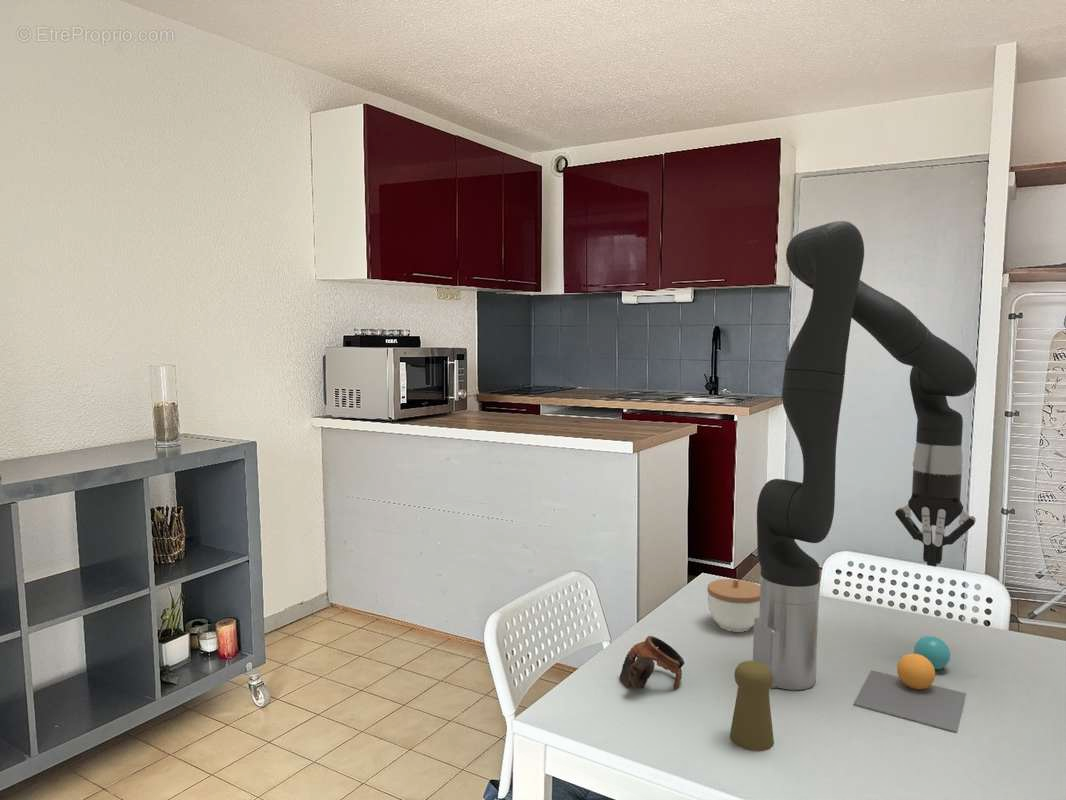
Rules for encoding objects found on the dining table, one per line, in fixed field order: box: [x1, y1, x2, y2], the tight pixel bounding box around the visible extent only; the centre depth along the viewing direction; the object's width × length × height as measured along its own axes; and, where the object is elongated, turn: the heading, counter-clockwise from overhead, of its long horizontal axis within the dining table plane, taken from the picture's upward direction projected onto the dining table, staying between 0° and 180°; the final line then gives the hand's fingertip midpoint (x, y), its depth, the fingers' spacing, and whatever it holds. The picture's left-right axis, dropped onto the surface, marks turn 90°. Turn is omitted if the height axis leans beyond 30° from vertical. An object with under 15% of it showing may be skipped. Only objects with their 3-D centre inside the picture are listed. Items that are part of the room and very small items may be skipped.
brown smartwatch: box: [619, 635, 685, 690], centre depth 121 cm, size 12×10×8 cm
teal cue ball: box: [913, 635, 951, 671], centre depth 127 cm, size 6×6×6 cm
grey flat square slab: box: [853, 670, 967, 734], centre depth 117 cm, size 14×14×1 cm
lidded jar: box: [707, 578, 760, 633], centre depth 145 cm, size 11×11×9 cm
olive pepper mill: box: [729, 660, 775, 752], centre depth 105 cm, size 6×6×11 cm
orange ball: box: [896, 653, 936, 690], centre depth 120 cm, size 6×6×6 cm
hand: (932, 564), depth 132 cm, fingers closed
